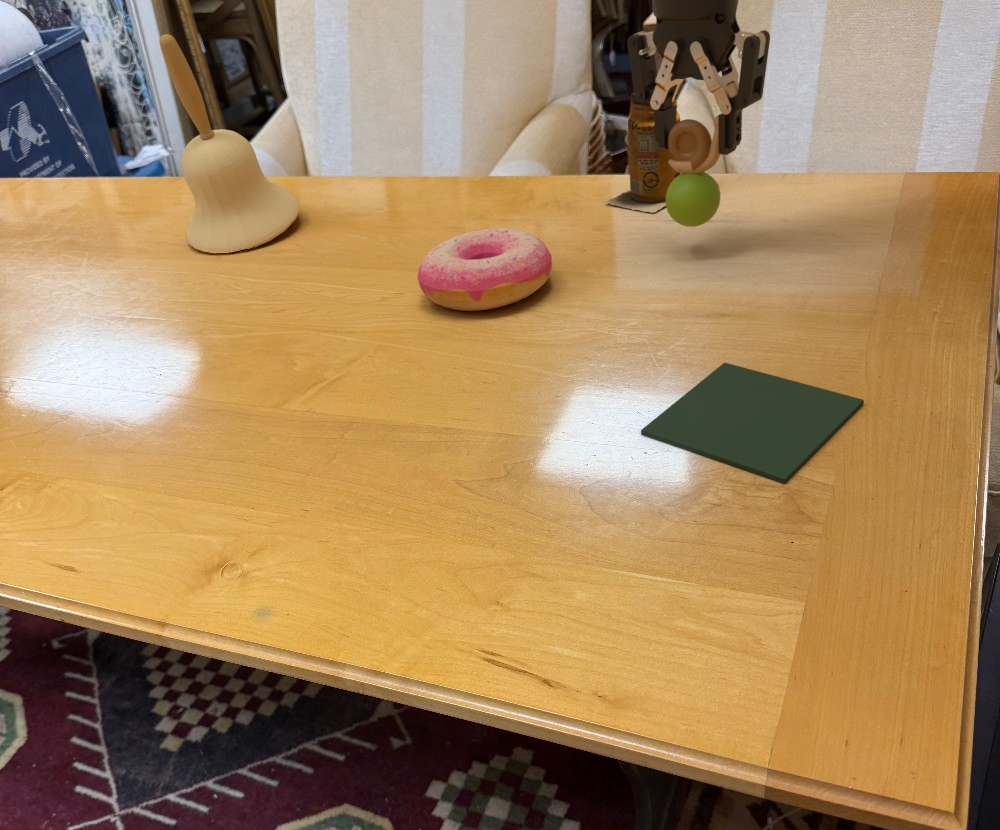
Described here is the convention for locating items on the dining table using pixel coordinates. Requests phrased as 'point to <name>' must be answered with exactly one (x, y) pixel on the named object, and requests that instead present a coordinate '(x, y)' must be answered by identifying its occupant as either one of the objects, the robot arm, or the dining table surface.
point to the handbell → (224, 177)
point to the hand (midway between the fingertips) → (696, 148)
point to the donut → (484, 269)
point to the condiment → (646, 162)
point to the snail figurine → (693, 173)
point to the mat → (753, 420)
